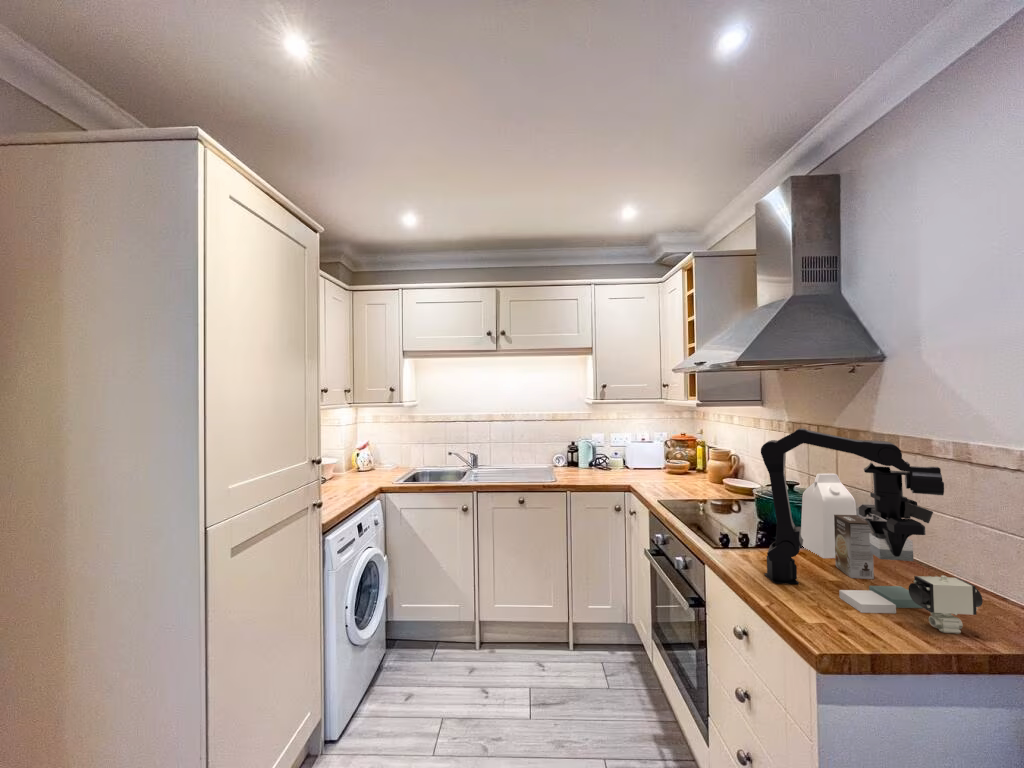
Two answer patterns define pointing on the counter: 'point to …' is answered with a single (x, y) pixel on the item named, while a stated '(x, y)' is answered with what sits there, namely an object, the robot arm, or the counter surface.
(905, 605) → the stand
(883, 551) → the block
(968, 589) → the pneumatic valve
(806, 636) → the counter surface
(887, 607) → the stand
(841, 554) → the coffee box
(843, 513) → the milk
